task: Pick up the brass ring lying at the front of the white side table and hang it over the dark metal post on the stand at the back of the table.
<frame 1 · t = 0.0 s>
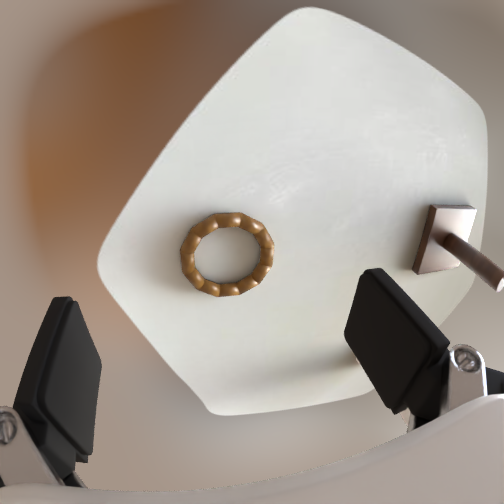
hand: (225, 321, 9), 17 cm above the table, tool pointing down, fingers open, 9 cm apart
ring: (227, 257, 27), point 1 cm above the table
post: (443, 236, 33), on the table
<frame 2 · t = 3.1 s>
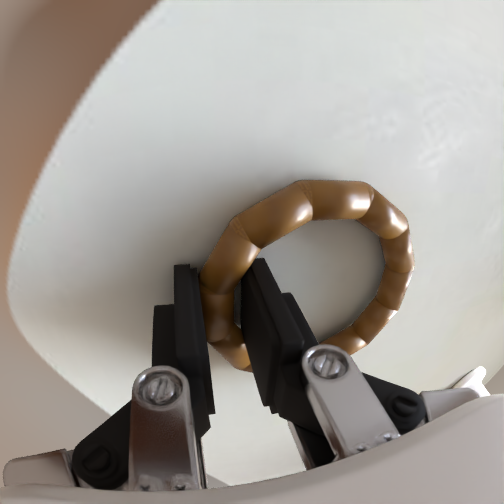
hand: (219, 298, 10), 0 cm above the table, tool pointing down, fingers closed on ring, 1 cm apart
ring: (316, 295, 11), point 1 cm above the table, touching gripper
candle: (459, 387, 25), on the table
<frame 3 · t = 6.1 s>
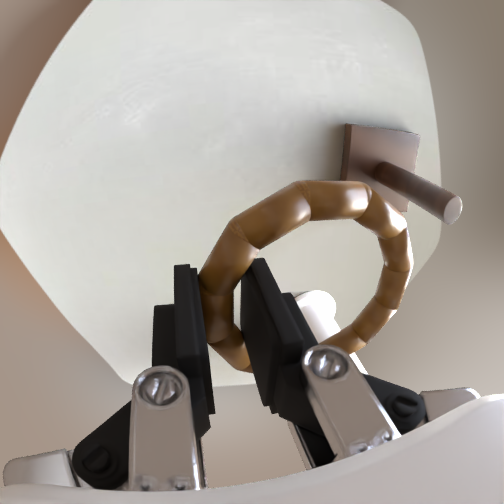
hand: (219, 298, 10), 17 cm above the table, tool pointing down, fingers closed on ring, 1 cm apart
ring: (315, 295, 11), point 18 cm above the table, touching gripper
post: (377, 169, 29), on the table
candle: (307, 311, 37), on the table
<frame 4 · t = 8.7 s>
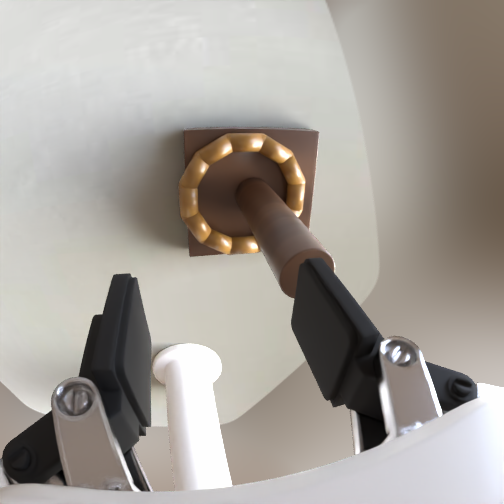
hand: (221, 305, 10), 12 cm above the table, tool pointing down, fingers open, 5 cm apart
ring: (243, 196, 20), point 2 cm above the table, touching post
post: (249, 189, 21), on the table
candle: (186, 364, 29), on the table
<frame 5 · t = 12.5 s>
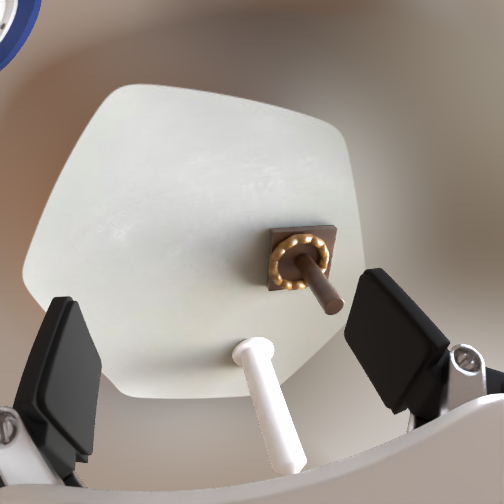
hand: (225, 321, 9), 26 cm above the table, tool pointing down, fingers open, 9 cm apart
ring: (299, 263, 40), point 2 cm above the table, touching post
post: (299, 256, 41), on the table
candle: (252, 350, 49), on the table
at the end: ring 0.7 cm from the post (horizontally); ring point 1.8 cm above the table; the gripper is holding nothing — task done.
